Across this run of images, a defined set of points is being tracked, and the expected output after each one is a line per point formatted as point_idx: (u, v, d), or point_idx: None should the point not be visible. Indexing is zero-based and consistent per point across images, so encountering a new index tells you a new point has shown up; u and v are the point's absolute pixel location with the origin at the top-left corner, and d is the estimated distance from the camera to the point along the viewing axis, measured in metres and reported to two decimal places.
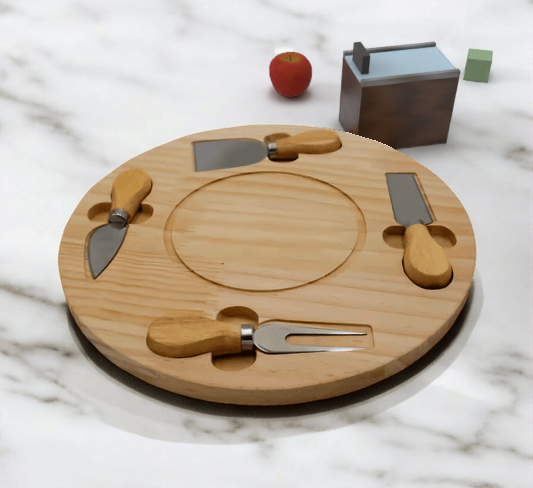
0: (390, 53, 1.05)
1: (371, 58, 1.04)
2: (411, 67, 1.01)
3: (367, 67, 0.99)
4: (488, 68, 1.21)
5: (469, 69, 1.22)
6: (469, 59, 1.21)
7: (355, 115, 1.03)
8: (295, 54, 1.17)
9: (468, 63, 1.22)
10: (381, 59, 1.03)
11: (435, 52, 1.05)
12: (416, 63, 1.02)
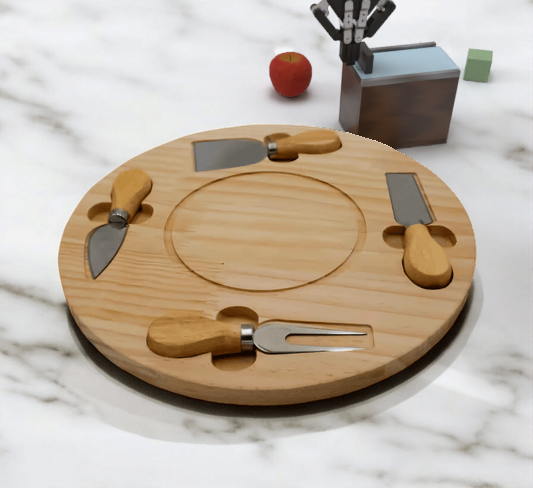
0: (393, 53, 1.05)
1: (374, 58, 1.04)
2: (414, 66, 1.01)
3: (371, 67, 0.99)
4: (488, 68, 1.21)
5: (469, 69, 1.22)
6: (469, 59, 1.21)
7: (355, 115, 1.03)
8: (295, 54, 1.17)
9: (468, 63, 1.22)
10: (384, 59, 1.04)
11: (439, 51, 1.05)
12: (420, 63, 1.02)
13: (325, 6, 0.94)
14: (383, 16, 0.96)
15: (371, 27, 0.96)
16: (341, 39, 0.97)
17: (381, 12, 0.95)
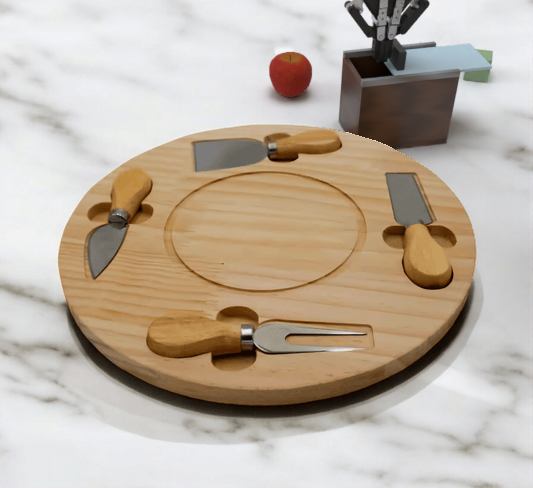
0: (424, 50, 1.06)
1: (405, 54, 1.05)
2: (445, 63, 1.02)
3: (403, 63, 1.00)
4: None
5: None
6: None
7: (355, 115, 1.03)
8: (295, 54, 1.17)
9: None
10: (415, 55, 1.04)
11: (469, 48, 1.06)
12: (451, 59, 1.03)
13: (360, 3, 0.94)
14: (416, 13, 0.96)
15: (404, 24, 0.97)
16: (374, 36, 0.98)
17: (414, 9, 0.96)
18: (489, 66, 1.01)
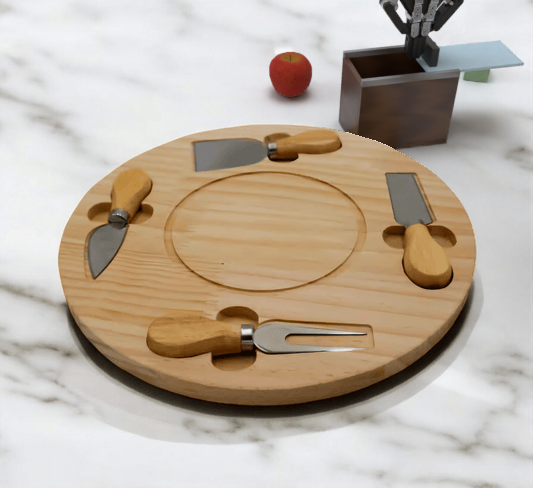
0: (455, 46, 1.06)
1: None
2: (477, 60, 1.03)
3: (436, 60, 1.01)
4: None
5: None
6: None
7: (355, 115, 1.03)
8: (295, 54, 1.17)
9: None
10: (447, 52, 1.05)
11: (499, 45, 1.07)
12: (482, 56, 1.04)
13: None
14: (451, 10, 0.97)
15: (438, 21, 0.98)
16: (408, 33, 0.99)
17: (449, 6, 0.97)
18: (521, 63, 1.02)
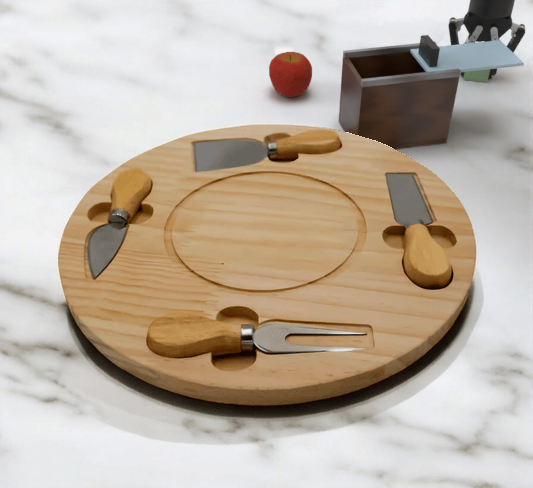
0: (455, 46, 1.06)
1: None
2: (477, 60, 1.03)
3: (436, 60, 1.01)
4: None
5: None
6: None
7: (355, 115, 1.03)
8: (295, 54, 1.17)
9: None
10: (447, 52, 1.05)
11: (499, 45, 1.07)
12: (482, 56, 1.04)
13: (460, 23, 1.19)
14: (515, 40, 1.18)
15: None
16: None
17: (514, 37, 1.18)
18: (521, 63, 1.02)
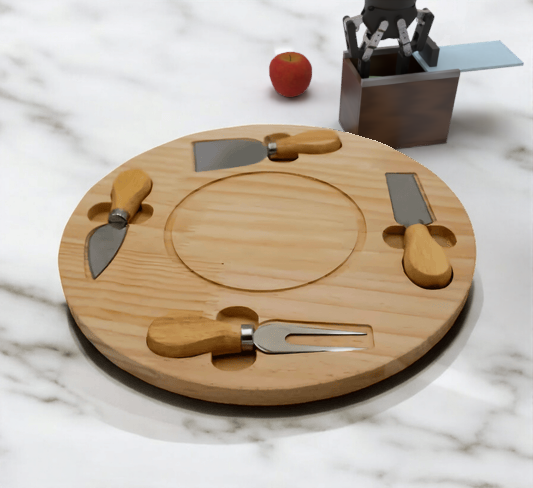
0: (455, 46, 1.06)
1: None
2: (477, 60, 1.03)
3: (436, 60, 1.01)
4: None
5: None
6: None
7: (355, 115, 1.03)
8: (295, 54, 1.17)
9: None
10: (447, 52, 1.05)
11: (499, 45, 1.07)
12: (482, 56, 1.04)
13: (359, 22, 0.96)
14: (425, 28, 0.98)
15: (418, 42, 0.99)
16: (360, 57, 1.00)
17: (422, 25, 0.98)
18: (521, 63, 1.02)
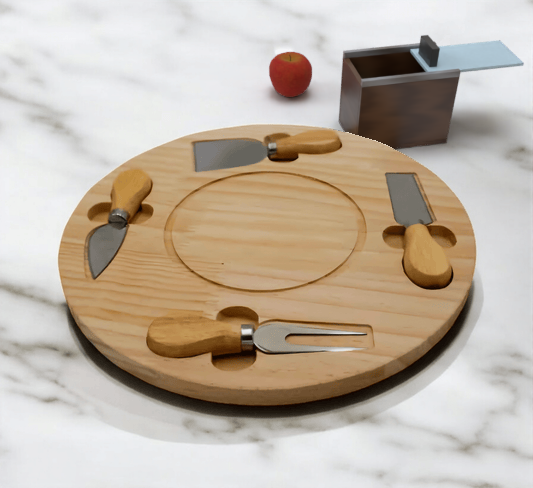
0: (455, 46, 1.06)
1: None
2: (477, 60, 1.03)
3: (436, 60, 1.01)
4: None
5: None
6: None
7: (355, 115, 1.03)
8: (295, 54, 1.17)
9: None
10: (447, 52, 1.05)
11: (499, 45, 1.07)
12: (482, 56, 1.04)
13: None
14: None
15: None
16: None
17: None
18: (521, 63, 1.02)
